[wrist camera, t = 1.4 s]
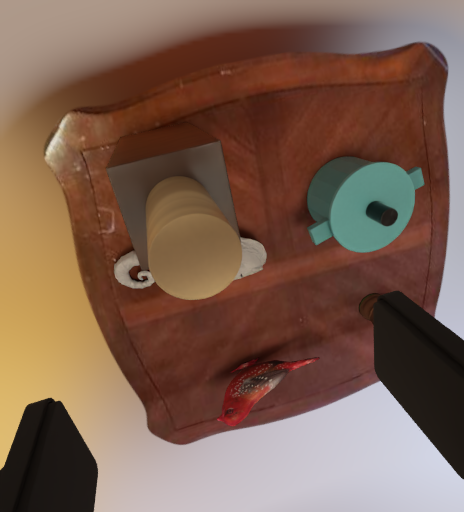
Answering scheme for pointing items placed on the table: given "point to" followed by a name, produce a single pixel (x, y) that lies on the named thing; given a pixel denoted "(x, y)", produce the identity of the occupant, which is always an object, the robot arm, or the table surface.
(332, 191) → the pot
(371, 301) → the chess piece
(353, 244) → the pot lid
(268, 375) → the decorative bird figurine
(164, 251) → the cylinder
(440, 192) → the table surface
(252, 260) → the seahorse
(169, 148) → the pedestal
